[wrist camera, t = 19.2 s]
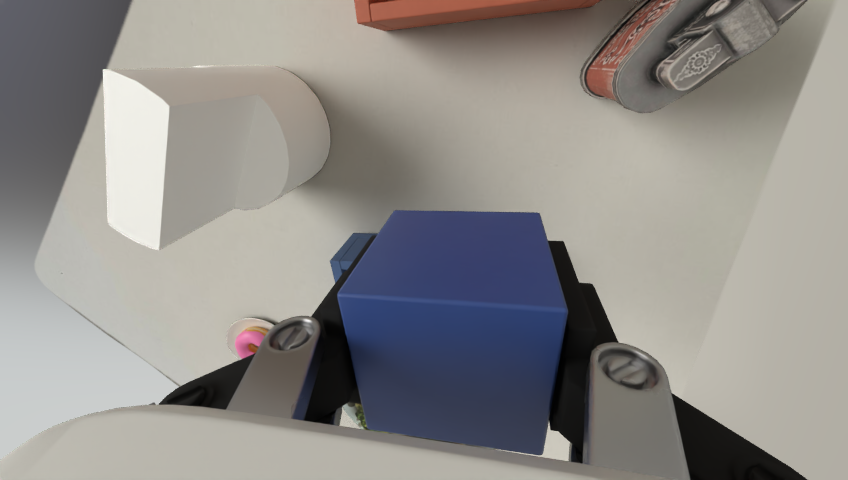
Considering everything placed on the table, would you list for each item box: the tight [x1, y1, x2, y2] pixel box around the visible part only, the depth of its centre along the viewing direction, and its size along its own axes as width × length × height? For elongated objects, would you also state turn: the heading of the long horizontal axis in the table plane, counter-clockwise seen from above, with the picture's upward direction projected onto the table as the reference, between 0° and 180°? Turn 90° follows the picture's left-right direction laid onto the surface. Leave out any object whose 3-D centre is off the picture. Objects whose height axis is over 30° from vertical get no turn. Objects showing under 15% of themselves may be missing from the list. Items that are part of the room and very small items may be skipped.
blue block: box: [337, 210, 568, 455], centre depth 9 cm, size 4×4×4 cm
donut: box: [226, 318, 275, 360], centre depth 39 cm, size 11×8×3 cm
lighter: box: [580, 0, 807, 113], centre depth 15 cm, size 8×3×10 cm, turn 137°
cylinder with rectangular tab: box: [103, 65, 331, 250], centre depth 21 cm, size 9×9×12 cm
